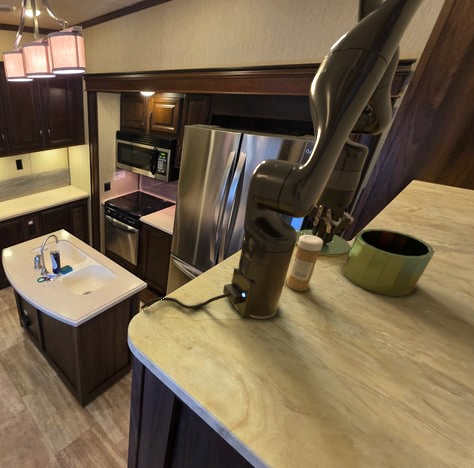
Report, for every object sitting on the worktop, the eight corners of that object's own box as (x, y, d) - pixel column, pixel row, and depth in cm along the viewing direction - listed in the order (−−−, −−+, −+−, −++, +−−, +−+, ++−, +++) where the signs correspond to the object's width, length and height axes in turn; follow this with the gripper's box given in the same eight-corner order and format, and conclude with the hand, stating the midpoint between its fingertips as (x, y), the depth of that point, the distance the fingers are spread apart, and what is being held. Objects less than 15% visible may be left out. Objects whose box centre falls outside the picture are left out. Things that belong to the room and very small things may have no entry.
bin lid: (318, 261, 79) (326, 238, 76) (281, 237, 91) (286, 216, 88) (362, 252, 81) (371, 230, 78) (319, 230, 93) (326, 210, 90)
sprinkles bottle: (311, 286, 71) (327, 239, 64) (301, 294, 68) (317, 246, 62) (292, 277, 74) (305, 232, 67) (282, 284, 72) (295, 238, 65)
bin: (381, 300, 65) (400, 262, 60) (330, 268, 76) (343, 233, 71) (428, 290, 67) (451, 252, 62) (371, 259, 78) (387, 225, 73)
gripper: (306, 178, 83) (291, 231, 91) (351, 195, 70) (330, 254, 79) (328, 175, 84) (312, 227, 92) (377, 191, 72) (353, 249, 80)
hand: (320, 239), depth 85 cm, fingers closed on bin lid, 3 cm apart
